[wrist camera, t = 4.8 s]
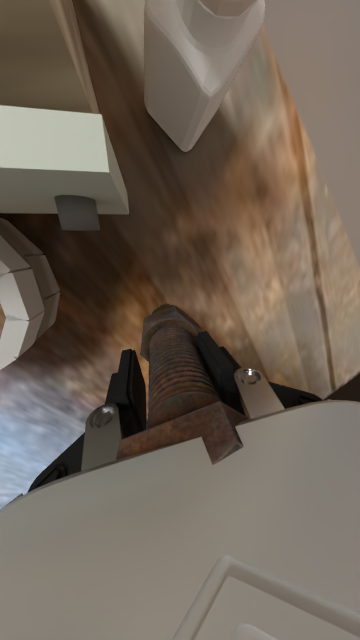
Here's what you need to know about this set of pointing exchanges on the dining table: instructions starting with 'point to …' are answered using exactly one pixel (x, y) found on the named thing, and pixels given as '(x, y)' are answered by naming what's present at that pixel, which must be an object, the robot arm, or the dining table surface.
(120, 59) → the dining table surface
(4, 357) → the grey piece
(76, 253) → the dining table surface
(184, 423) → the bolt
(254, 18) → the pepper shaker
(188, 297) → the dining table surface
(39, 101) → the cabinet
